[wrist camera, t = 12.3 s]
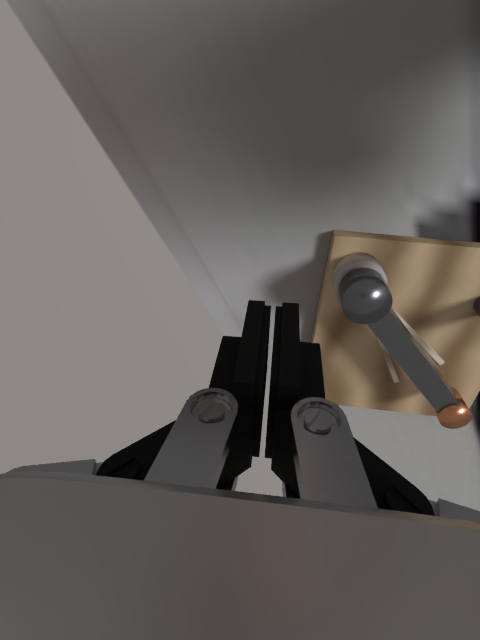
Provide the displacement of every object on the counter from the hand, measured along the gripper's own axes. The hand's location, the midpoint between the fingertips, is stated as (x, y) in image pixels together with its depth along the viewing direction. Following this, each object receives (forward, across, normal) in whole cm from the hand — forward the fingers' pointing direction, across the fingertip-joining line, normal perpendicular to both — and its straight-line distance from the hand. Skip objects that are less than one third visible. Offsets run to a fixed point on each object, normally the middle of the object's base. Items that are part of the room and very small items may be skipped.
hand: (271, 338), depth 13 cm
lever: (+22, -14, +16) cm, 31 cm away
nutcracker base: (+27, -15, +18) cm, 36 cm away
